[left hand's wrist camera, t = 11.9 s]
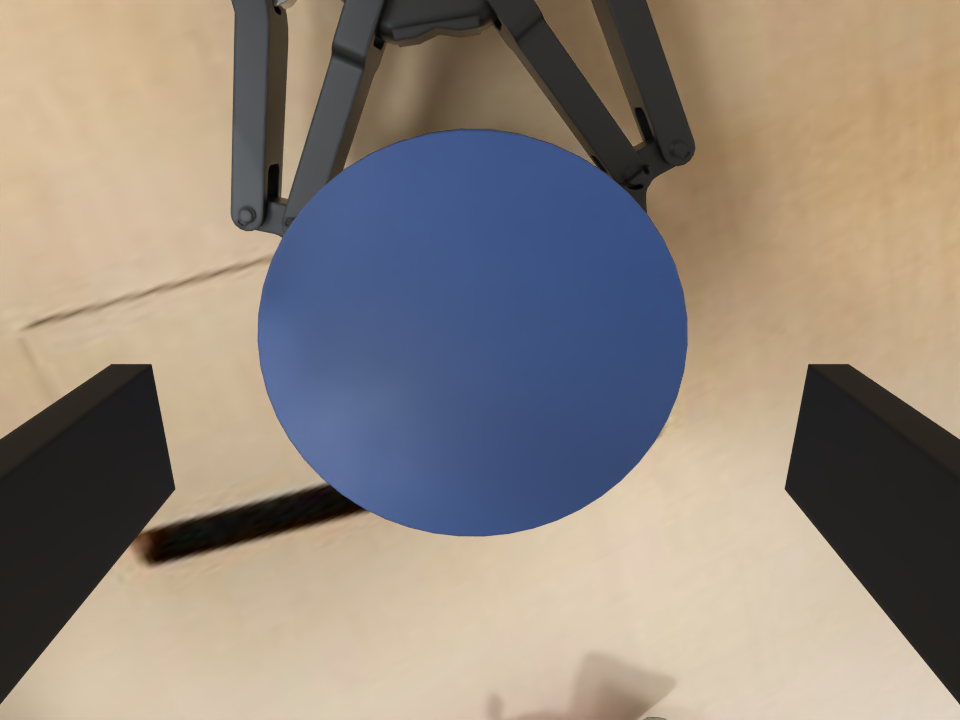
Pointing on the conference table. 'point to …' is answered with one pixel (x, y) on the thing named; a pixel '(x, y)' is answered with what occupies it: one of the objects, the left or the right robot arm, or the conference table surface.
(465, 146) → the lid
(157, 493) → the left robot arm
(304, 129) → the conference table surface
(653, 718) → the fish
